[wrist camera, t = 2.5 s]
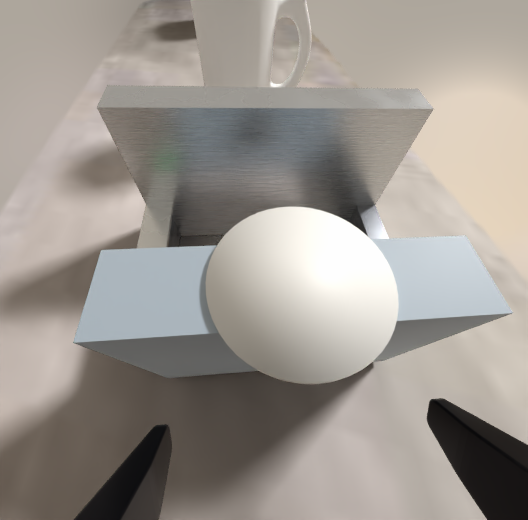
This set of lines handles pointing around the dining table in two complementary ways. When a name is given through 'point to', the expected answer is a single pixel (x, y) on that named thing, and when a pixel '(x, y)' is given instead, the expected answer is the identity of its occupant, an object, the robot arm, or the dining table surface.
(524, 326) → the dining table surface
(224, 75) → the mug
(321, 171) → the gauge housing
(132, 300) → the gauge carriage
